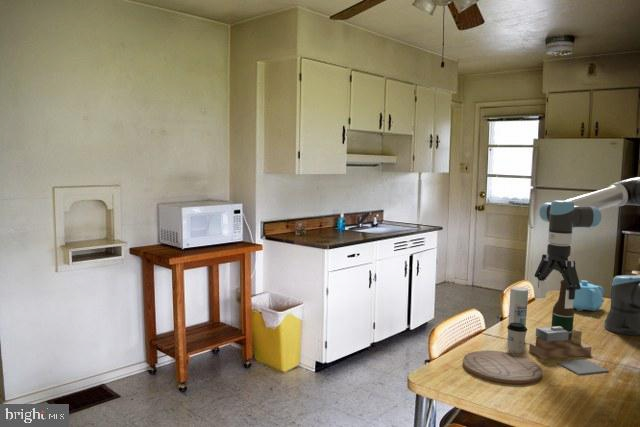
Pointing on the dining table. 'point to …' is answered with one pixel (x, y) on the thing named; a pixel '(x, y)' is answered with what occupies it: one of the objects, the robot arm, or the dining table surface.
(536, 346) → the plane body
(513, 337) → the coffee cup
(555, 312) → the beer bottle
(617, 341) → the dining table surface
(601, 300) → the decorative pot
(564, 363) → the mat
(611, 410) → the dining table surface
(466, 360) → the trivet
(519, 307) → the spray can
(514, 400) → the dining table surface
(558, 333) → the lever cap
